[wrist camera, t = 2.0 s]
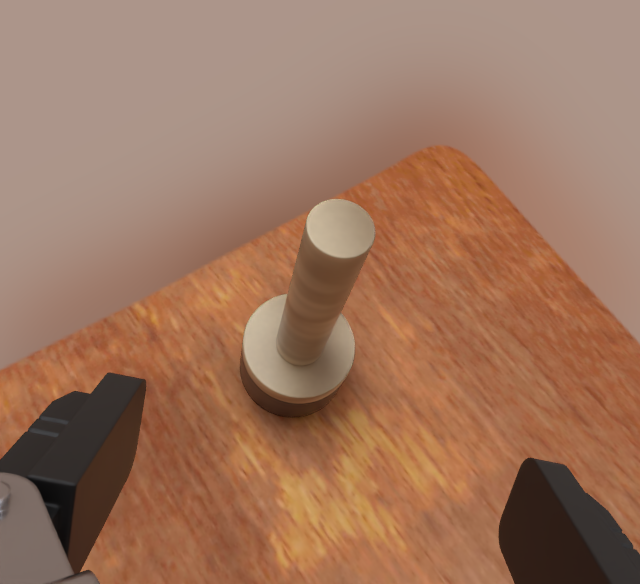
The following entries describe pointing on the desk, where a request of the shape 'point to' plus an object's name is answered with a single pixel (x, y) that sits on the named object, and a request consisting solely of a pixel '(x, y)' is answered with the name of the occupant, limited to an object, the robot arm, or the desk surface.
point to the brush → (309, 316)
